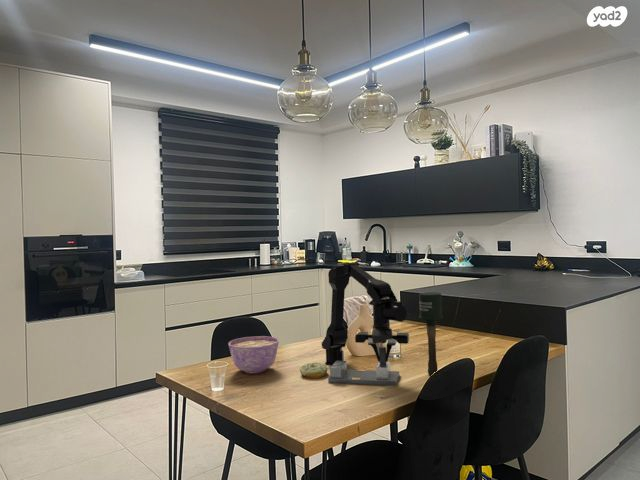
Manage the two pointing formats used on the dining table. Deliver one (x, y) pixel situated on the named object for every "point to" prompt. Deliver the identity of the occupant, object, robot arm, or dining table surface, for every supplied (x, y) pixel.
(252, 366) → the bowl of food
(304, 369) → the decorated donut
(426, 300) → the stick grenade
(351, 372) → the base
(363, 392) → the dining table surface
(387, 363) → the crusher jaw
